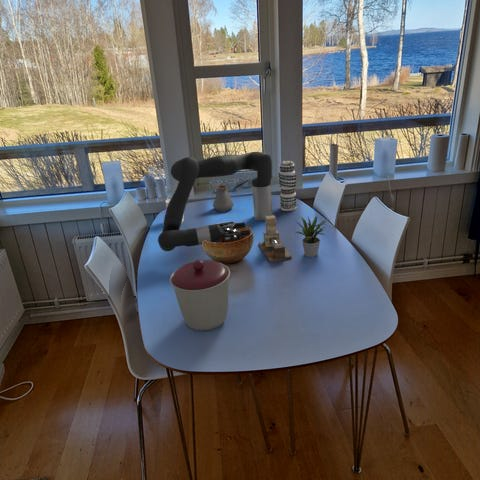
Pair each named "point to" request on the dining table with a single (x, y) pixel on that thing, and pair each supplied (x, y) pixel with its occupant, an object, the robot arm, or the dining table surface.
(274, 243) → the pipe
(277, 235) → the tan stepped block
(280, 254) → the base board
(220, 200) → the coffee pot
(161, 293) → the dining table surface
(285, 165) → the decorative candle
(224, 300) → the canister
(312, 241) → the house plant
